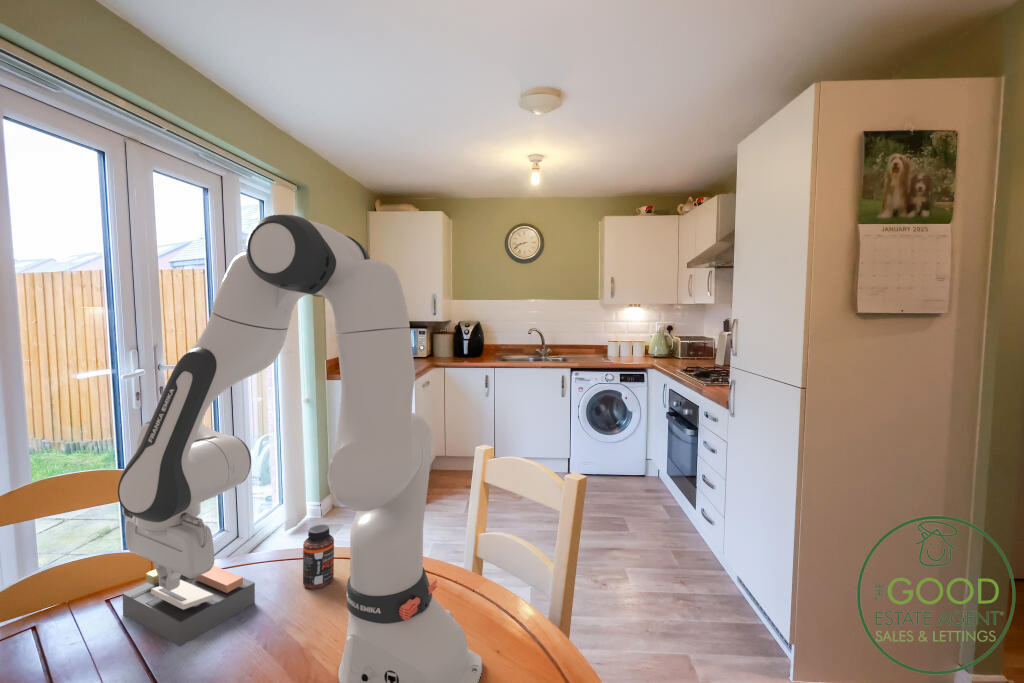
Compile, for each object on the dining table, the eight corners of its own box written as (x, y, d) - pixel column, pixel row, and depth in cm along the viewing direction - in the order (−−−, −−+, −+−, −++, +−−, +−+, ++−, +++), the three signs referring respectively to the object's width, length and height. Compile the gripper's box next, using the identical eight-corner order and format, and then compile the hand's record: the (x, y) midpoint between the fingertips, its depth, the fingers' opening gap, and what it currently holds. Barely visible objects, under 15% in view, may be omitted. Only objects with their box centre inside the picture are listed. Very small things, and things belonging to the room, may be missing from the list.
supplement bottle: (326, 590, 89) (326, 535, 88) (297, 590, 89) (297, 534, 89) (338, 574, 95) (338, 522, 94) (311, 573, 95) (311, 521, 95)
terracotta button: (242, 584, 83) (242, 577, 83) (226, 593, 80) (226, 585, 80) (210, 571, 87) (210, 564, 87) (194, 578, 84) (194, 571, 84)
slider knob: (168, 583, 83) (167, 570, 83) (153, 589, 81) (153, 576, 81) (160, 579, 84) (160, 567, 84) (146, 586, 82) (146, 573, 82)
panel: (255, 603, 84) (255, 582, 84) (179, 646, 73) (179, 622, 73) (199, 578, 92) (198, 559, 92) (122, 614, 81) (122, 592, 80)
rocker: (212, 601, 78) (213, 593, 78) (182, 612, 74) (184, 603, 74) (179, 586, 82) (181, 579, 82) (150, 595, 78) (151, 588, 78)
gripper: (225, 513, 74) (225, 593, 75) (158, 491, 83) (158, 563, 83) (184, 528, 69) (184, 615, 69) (116, 503, 77) (116, 580, 78)
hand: (169, 586), depth 76 cm, fingers closed
